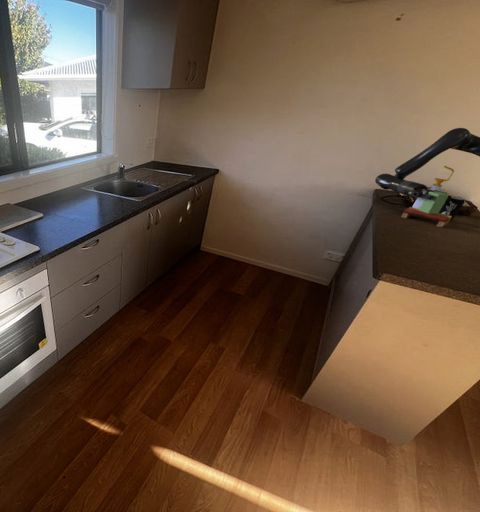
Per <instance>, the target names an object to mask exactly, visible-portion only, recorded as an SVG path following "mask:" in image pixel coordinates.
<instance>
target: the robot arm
mask: <svg viewBox="0 0 480 512" xmlns="http://www.w3.org/2000/svg"><path fill="white" fill-rule="evenodd" d="M448 150H455V151H461V152H465V153H468V154H471V155H475V156H477V157H480V136H479V135H475V134H473V133H472V132H470V130H469V129H467V128H465V127H456V128H452V129H450V130H448V131H446V133H445V134H443V135H442V136H440V137H439V138H438V139H437V140H436V141H434V143H432V144H430V146H427V147H426V148H425V149H423V150H422V151H421V152H419V153H418V154H416V155H415V156H413V157H411V158H410V159H408V160H407V161H405V162H402V164H400V165H399V166H397V167H395V169H394V172H395V174H394V175H393V174H391V173H381V174H379V175H377V176H376V178H375V179H374V182H375V184H376V185H377V186H379V187H380V188H381V189H383V190H391V191H393V192H395V193H398V194H400V195H403V196H406V197H409V198H412V199H417V198H425V199H428V200H432V199H433V198H434V196H433V195H430V194H428V193H429V192H441V191H442V190H441V191H438V190H431V189H429V188H428V187H427V185H425V184H423V183H420V182H416V181H412V180H408V179H407V180H406V178H407V177H408V176H410V175H411V174H413V173H415V172H417V171H418V170H420V169H422V168H423V167H424V166H425V165H426V164H428V163H429V162H430V161H431V160H433V159H434V158H436V157H437V156H439V155H440V154H442V153H444V152H446V151H448ZM442 193H445V194H448V192H445V191H442ZM451 196H452V195H450V194H449V196H448V198H447V199H446V200H450V198H451Z"/></svg>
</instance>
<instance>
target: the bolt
mask: <svg viewBox="0 0 480 512" xmlns="http://www.w3.org/2000/svg"><path fill="white" fill-rule="evenodd" d="M475 208H476V205H475V204H470V205H469V206H468V205H462V207H461V208H460V210H459V211H458V212H460V213H461V212H462V213H465V215H466V216H470V215H471V214H472V213H473V211H474V210H475Z"/></svg>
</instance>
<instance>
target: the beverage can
mask: <svg viewBox="0 0 480 512" xmlns="http://www.w3.org/2000/svg"><path fill="white" fill-rule="evenodd" d="M450 196H451V198H450V200H446V201H445V203H444V204H443V206H442V208H441V209H440V211H439V213H440V214H444V215H449V216H452V218H451V219H450V221H449V222H451V221H454V219H455V217H456V216H457V214H458V213H459V212H460V211H459V210H460V208H461V207H462V206H464V203H465V201H466V198H465V197H462V196H457V195H450Z"/></svg>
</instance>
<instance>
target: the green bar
mask: <svg viewBox="0 0 480 512" xmlns="http://www.w3.org/2000/svg"><path fill="white" fill-rule="evenodd" d="M442 192H443V191H442ZM442 192H429V193H428V194H430V195H433V196H434V198H433V199H432V200H428V199H425V200H424V202H423V204H422V206H421V207H420V209H419V211H422V212H425V213H428V214H438V213H439V211H440V209H441V208H442V206H443V204H444V203H445V201H446V199H447V198H448V196H449V195H450V194H449V193H447V194H445V193H446V192H445V193H442Z"/></svg>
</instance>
